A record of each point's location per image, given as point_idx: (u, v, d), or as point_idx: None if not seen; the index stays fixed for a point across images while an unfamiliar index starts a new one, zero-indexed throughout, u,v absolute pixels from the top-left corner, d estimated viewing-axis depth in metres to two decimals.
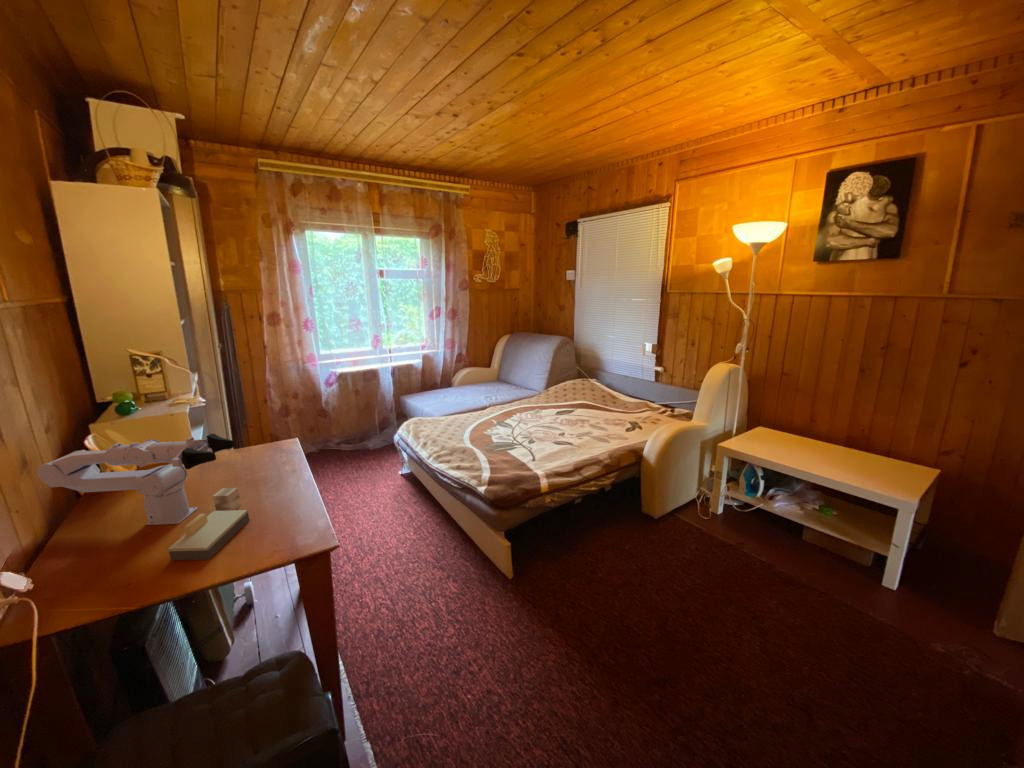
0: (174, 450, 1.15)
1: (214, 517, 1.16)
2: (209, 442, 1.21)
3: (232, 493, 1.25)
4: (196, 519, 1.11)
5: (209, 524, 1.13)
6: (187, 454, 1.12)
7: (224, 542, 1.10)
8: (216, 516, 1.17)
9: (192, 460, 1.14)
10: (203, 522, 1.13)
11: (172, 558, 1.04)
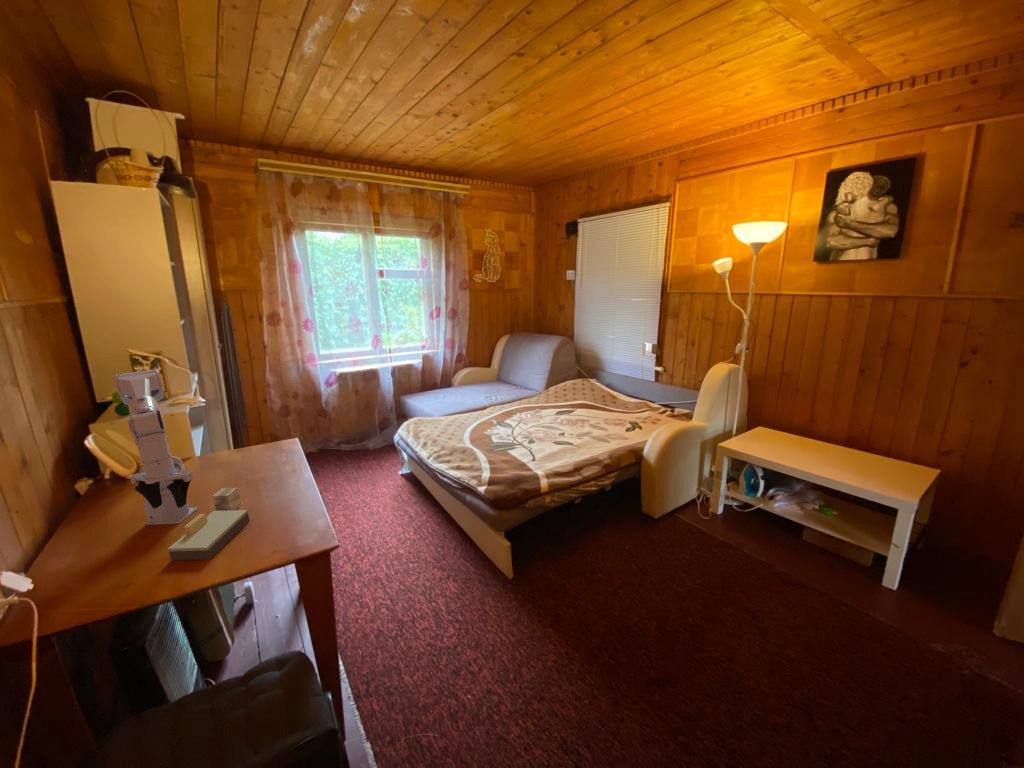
0: None
1: (214, 517, 1.16)
2: None
3: (232, 493, 1.25)
4: (196, 519, 1.11)
5: (209, 524, 1.13)
6: None
7: (224, 542, 1.10)
8: (216, 516, 1.17)
9: None
10: (203, 522, 1.13)
11: (172, 558, 1.04)
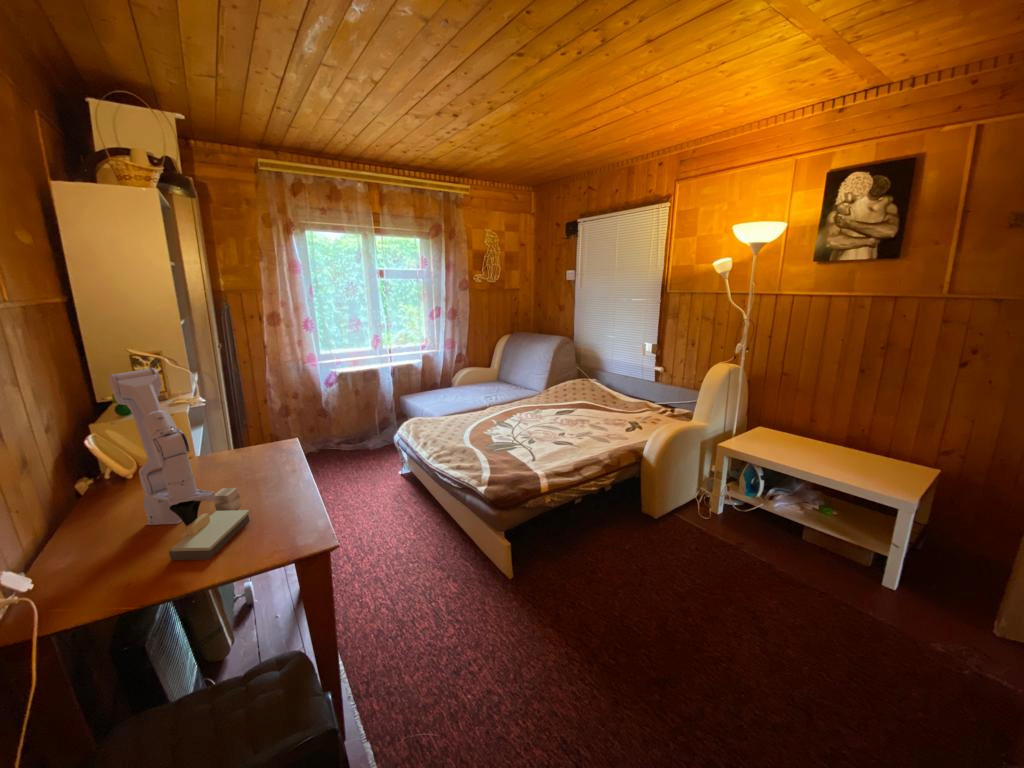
0: None
1: (216, 517, 1.16)
2: None
3: (232, 493, 1.25)
4: (198, 519, 1.11)
5: (211, 523, 1.13)
6: None
7: (224, 542, 1.10)
8: (219, 516, 1.17)
9: None
10: (206, 522, 1.13)
11: (172, 558, 1.04)
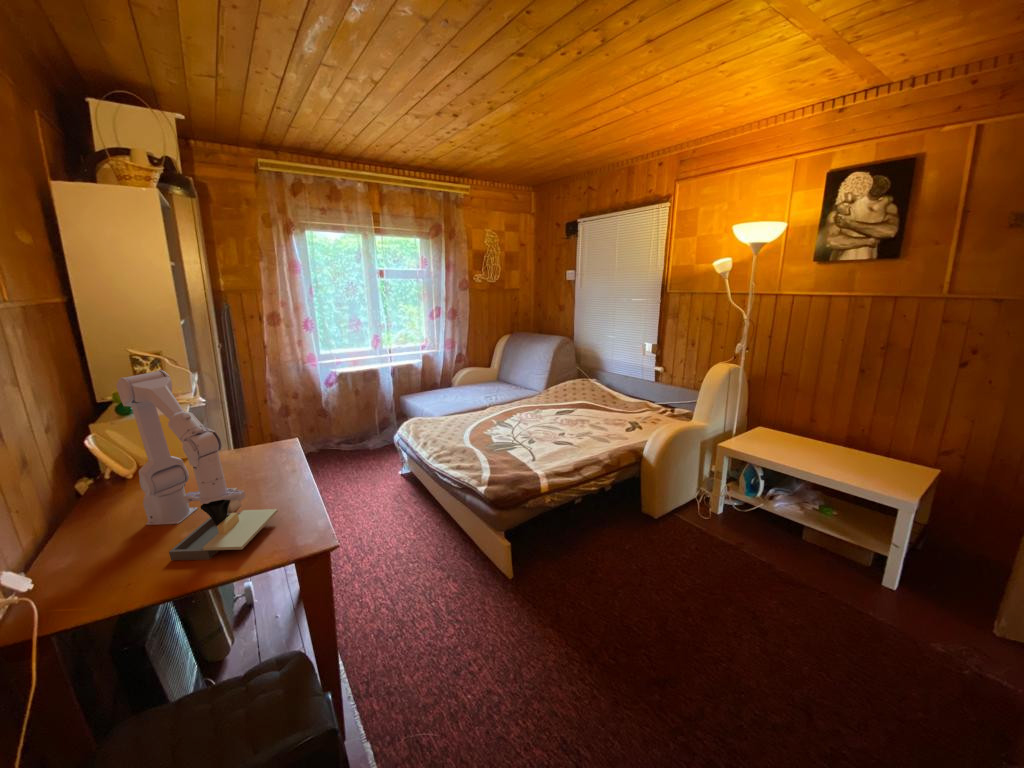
0: (198, 486, 1.07)
1: (245, 516, 1.16)
2: None
3: None
4: (228, 518, 1.11)
5: (240, 523, 1.13)
6: None
7: None
8: (247, 515, 1.17)
9: None
10: (235, 521, 1.13)
11: (172, 558, 1.04)
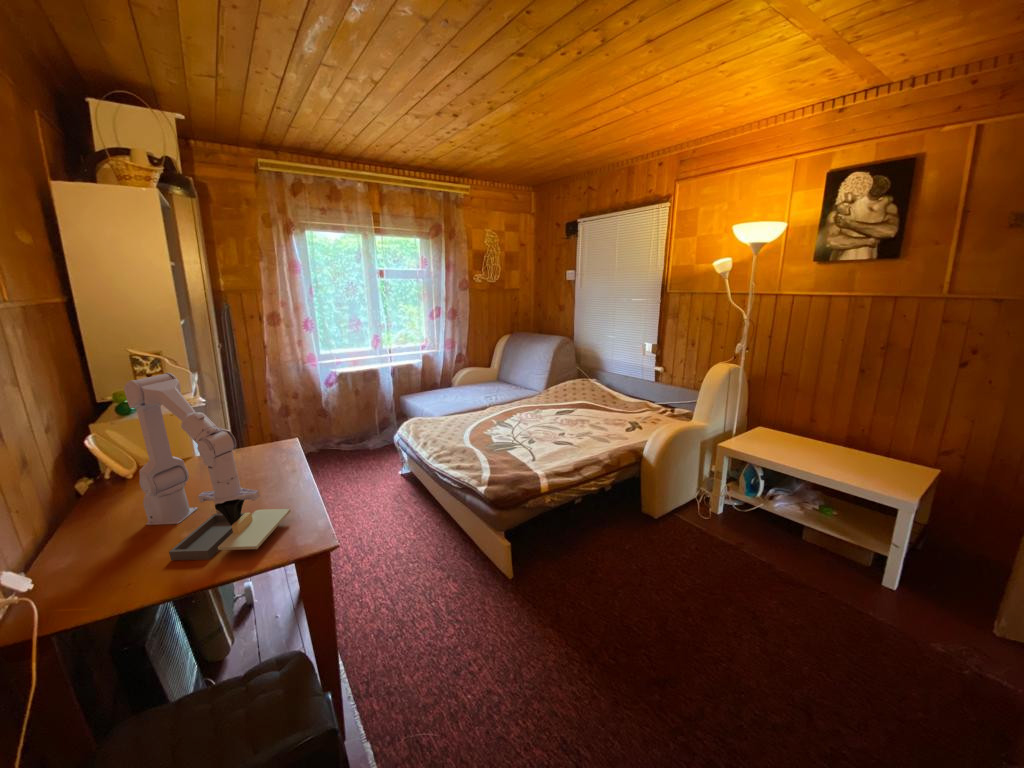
0: None
1: (258, 516, 1.16)
2: None
3: None
4: (242, 518, 1.11)
5: (254, 522, 1.13)
6: None
7: None
8: (261, 515, 1.17)
9: None
10: (249, 521, 1.13)
11: (172, 558, 1.04)
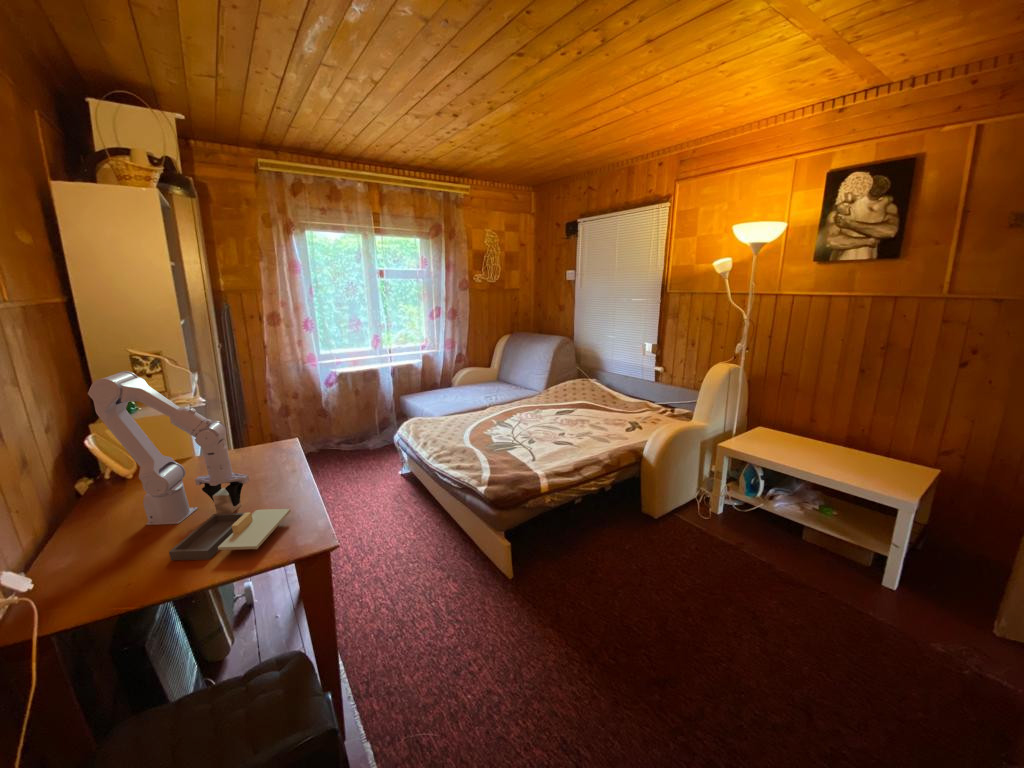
0: None
1: (258, 516, 1.16)
2: None
3: None
4: (242, 518, 1.11)
5: (254, 522, 1.13)
6: None
7: None
8: (261, 515, 1.17)
9: None
10: (249, 521, 1.13)
11: (172, 558, 1.04)
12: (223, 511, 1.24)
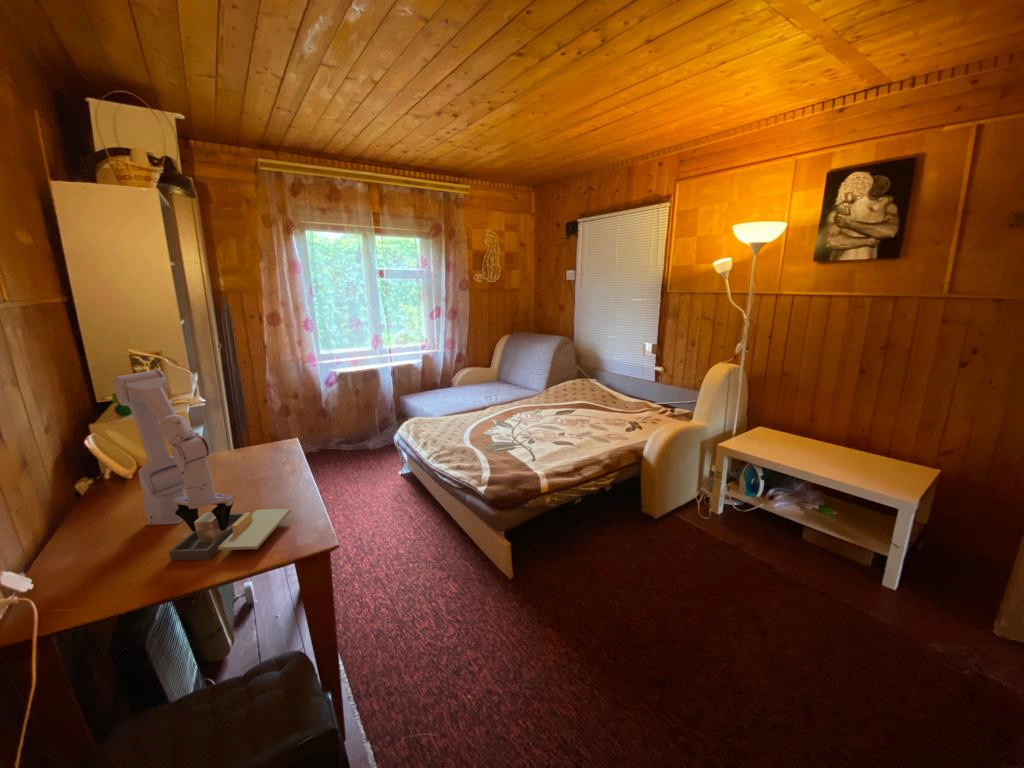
0: (186, 491, 1.07)
1: (258, 516, 1.16)
2: None
3: None
4: (242, 518, 1.11)
5: (254, 522, 1.13)
6: None
7: None
8: (261, 515, 1.17)
9: None
10: (249, 521, 1.13)
11: (172, 558, 1.04)
12: (206, 539, 1.10)
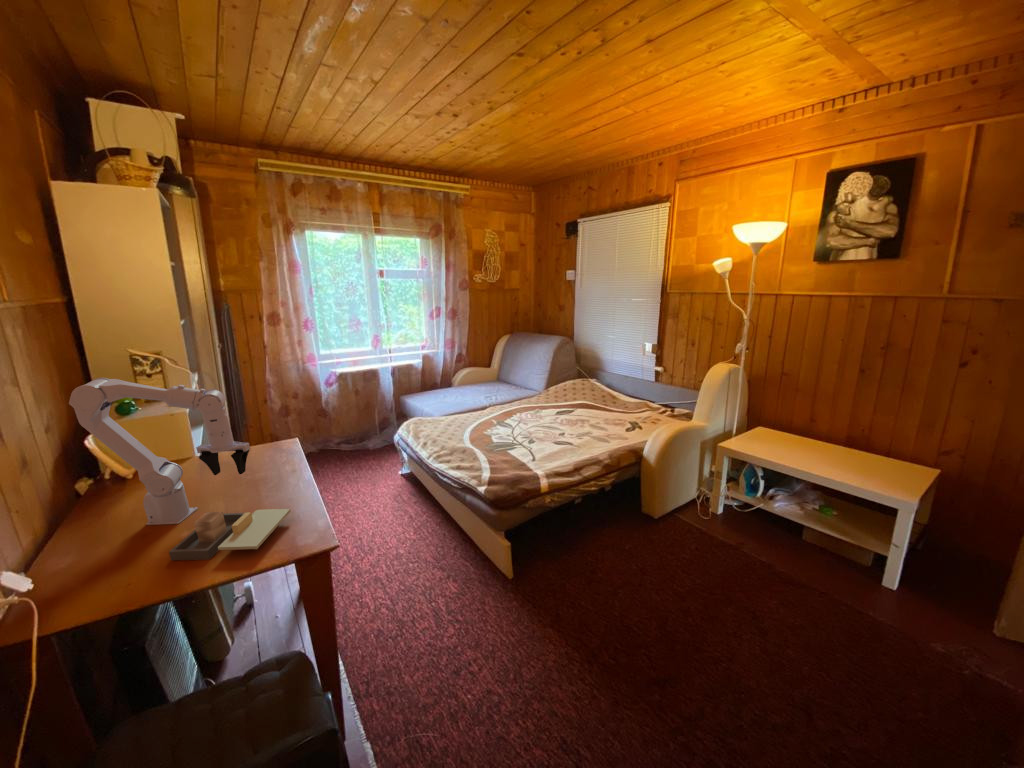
0: None
1: (258, 516, 1.16)
2: None
3: (217, 519, 1.11)
4: (242, 518, 1.11)
5: (254, 522, 1.13)
6: None
7: None
8: (261, 515, 1.17)
9: None
10: (249, 521, 1.13)
11: (172, 558, 1.04)
12: (206, 539, 1.10)
